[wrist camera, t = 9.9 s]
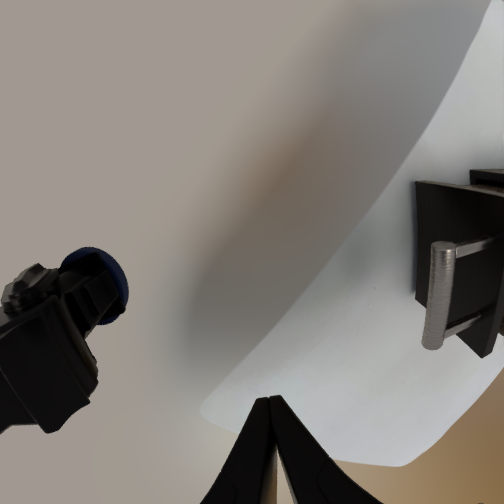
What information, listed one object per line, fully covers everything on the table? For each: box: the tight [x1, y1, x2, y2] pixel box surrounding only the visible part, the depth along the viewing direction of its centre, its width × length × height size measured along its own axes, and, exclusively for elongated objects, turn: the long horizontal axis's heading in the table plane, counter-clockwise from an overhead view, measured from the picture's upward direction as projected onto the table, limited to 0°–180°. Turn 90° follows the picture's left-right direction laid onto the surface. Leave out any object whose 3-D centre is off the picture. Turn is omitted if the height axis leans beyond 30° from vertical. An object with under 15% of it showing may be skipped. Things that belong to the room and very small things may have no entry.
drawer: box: [415, 181, 504, 358], centre depth 15 cm, size 15×10×10 cm
